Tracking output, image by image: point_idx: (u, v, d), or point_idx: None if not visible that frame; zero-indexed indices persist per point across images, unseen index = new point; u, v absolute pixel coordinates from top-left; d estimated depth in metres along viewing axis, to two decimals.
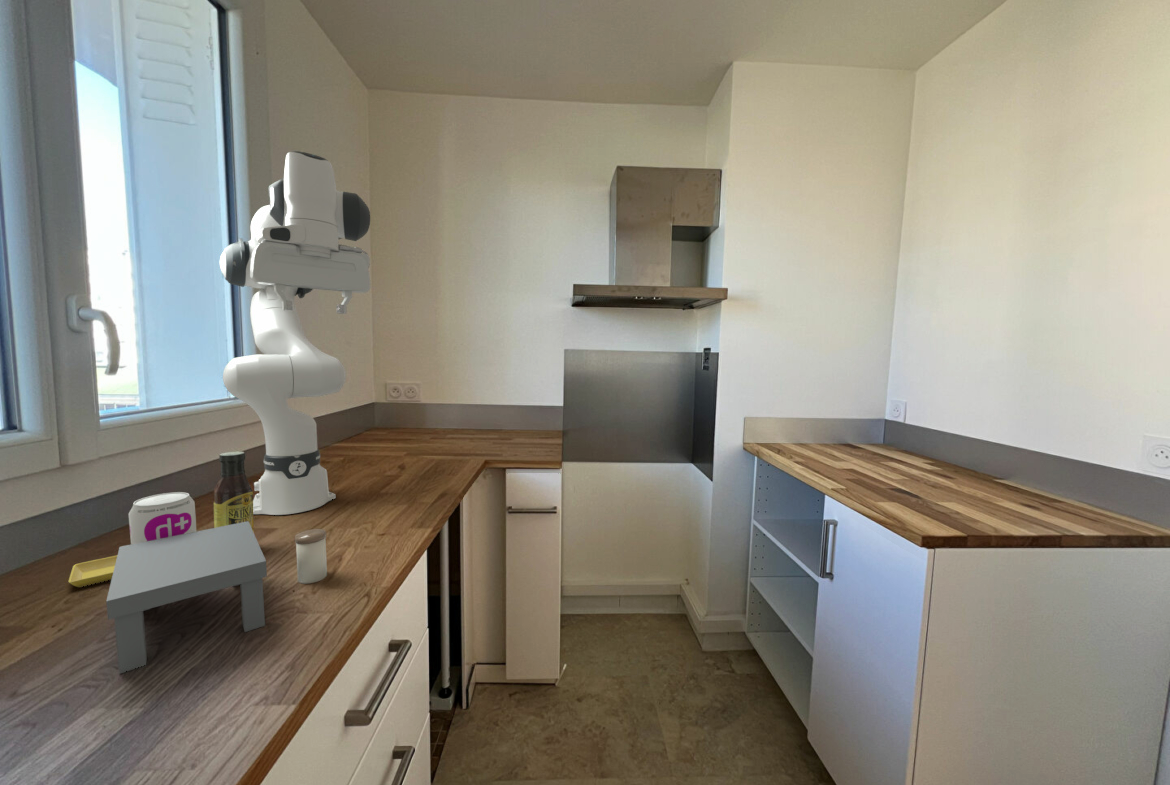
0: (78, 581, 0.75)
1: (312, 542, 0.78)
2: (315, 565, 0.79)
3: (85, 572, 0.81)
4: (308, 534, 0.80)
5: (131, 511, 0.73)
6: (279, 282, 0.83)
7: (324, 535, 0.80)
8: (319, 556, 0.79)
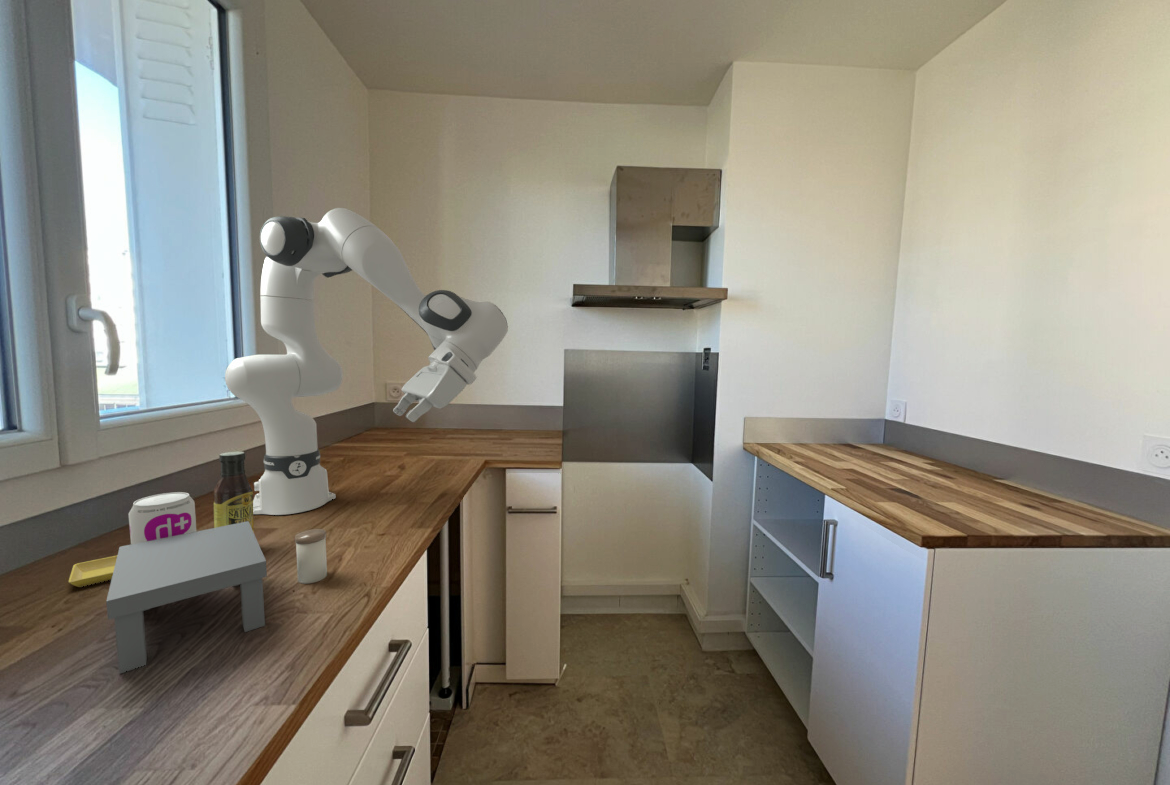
0: (78, 581, 0.75)
1: (312, 542, 0.78)
2: (315, 565, 0.79)
3: (85, 572, 0.81)
4: (308, 534, 0.80)
5: (131, 511, 0.73)
6: None
7: (324, 535, 0.80)
8: (319, 556, 0.79)
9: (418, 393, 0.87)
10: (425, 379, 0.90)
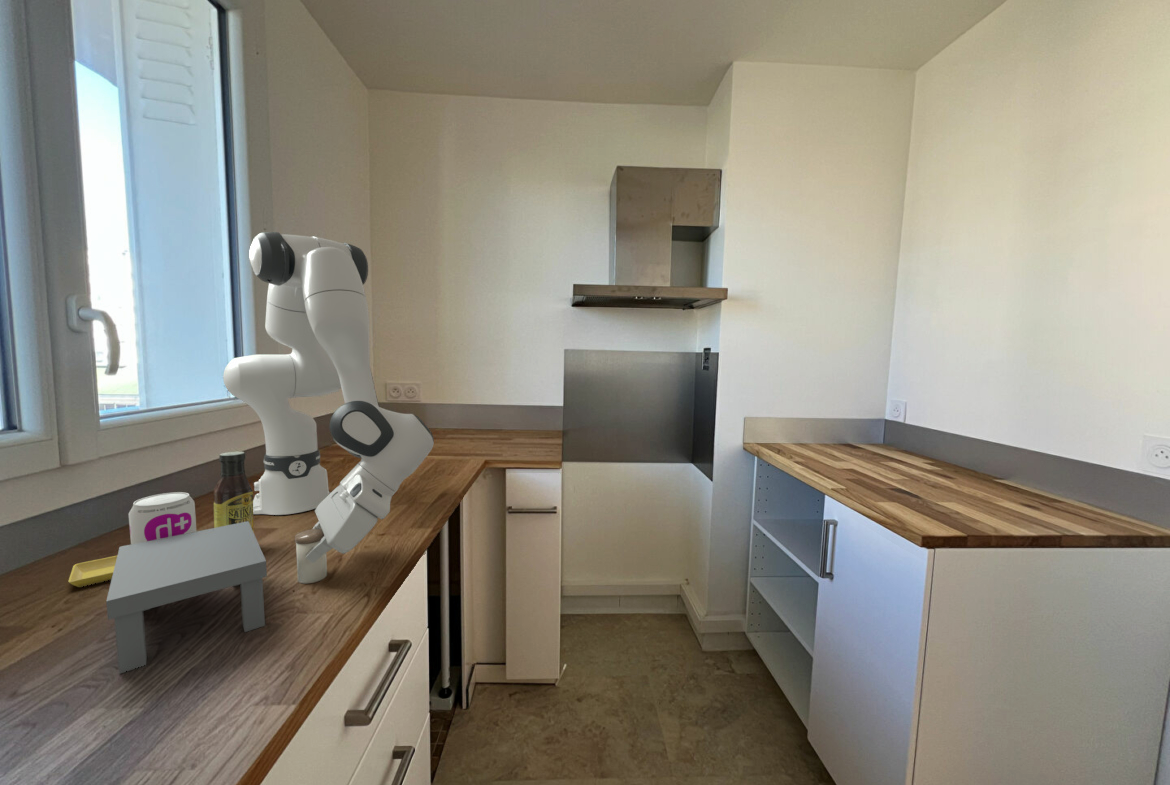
0: (78, 581, 0.75)
1: (312, 542, 0.78)
2: (315, 565, 0.79)
3: (85, 572, 0.81)
4: (308, 534, 0.80)
5: (131, 511, 0.73)
6: None
7: None
8: None
9: (323, 530, 0.78)
10: (335, 509, 0.82)
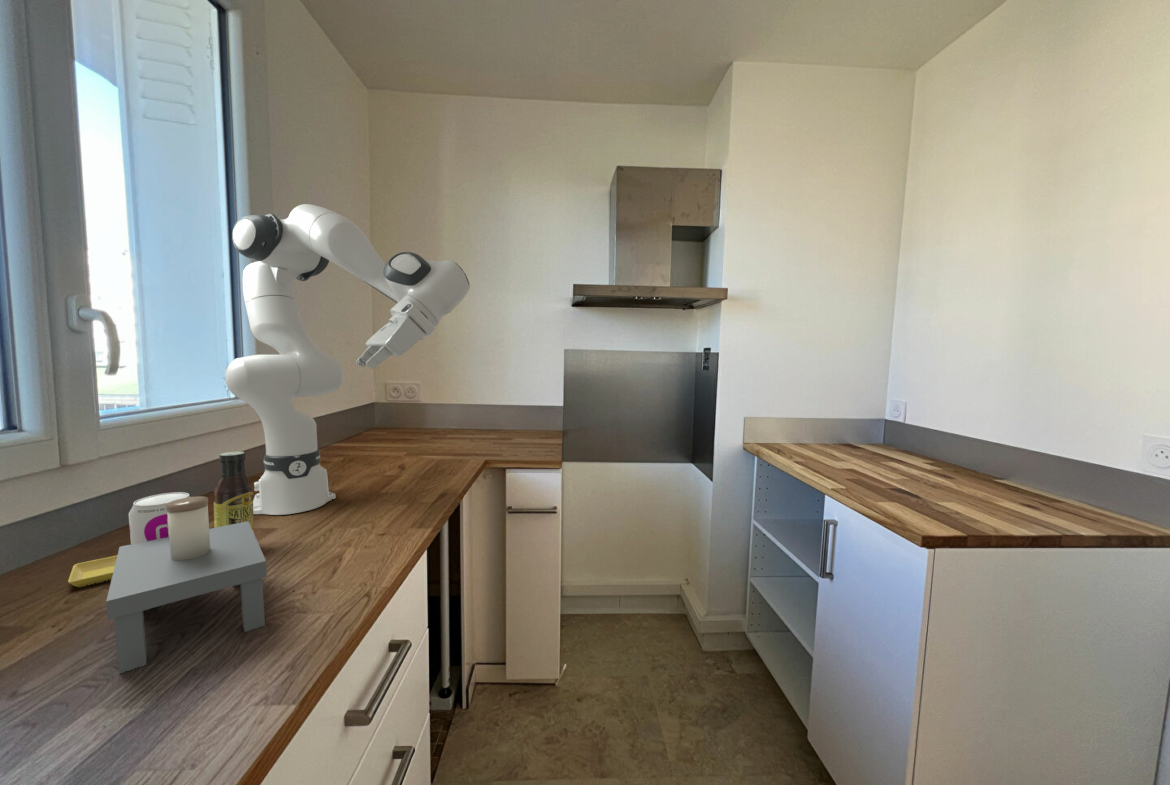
0: (78, 581, 0.75)
1: (186, 510, 0.65)
2: (190, 538, 0.66)
3: (86, 572, 0.81)
4: (184, 501, 0.67)
5: (131, 511, 0.73)
6: (394, 355, 0.90)
7: (204, 503, 0.67)
8: (197, 528, 0.66)
9: (378, 342, 0.90)
10: (386, 331, 0.94)
